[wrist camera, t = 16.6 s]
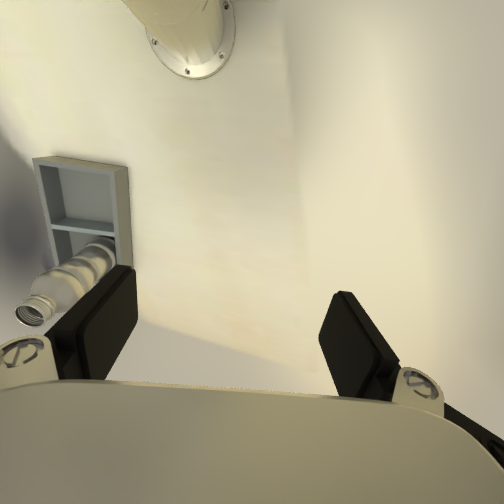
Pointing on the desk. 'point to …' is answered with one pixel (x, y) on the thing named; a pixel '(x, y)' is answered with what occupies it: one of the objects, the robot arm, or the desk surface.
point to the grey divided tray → (84, 205)
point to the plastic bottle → (66, 283)
